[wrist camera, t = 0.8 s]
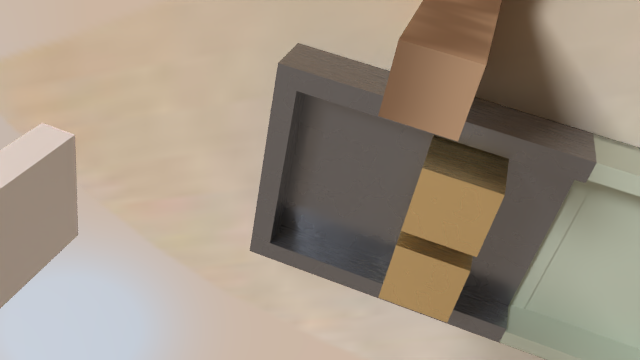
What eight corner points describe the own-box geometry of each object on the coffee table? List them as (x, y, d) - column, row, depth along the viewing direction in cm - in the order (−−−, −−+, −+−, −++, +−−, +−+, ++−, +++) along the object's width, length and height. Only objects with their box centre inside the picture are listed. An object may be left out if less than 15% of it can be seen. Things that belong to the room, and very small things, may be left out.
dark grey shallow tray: (593, 133, 30) (596, 162, 28) (502, 307, 38) (499, 342, 36) (298, 43, 33) (278, 63, 31) (267, 223, 40) (249, 250, 38)
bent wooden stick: (536, -108, 26) (525, -42, 15) (471, 73, 31) (430, 215, 20) (477, -123, 26) (427, -68, 16) (422, 58, 31) (358, 190, 21)
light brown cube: (509, 154, 31) (505, 195, 28) (483, 213, 34) (476, 257, 30) (435, 130, 32) (422, 168, 29) (415, 189, 34) (400, 230, 31)
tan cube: (477, 226, 34) (470, 271, 31) (456, 276, 37) (447, 322, 33) (410, 203, 35) (396, 245, 32) (393, 253, 37) (378, 297, 34)
